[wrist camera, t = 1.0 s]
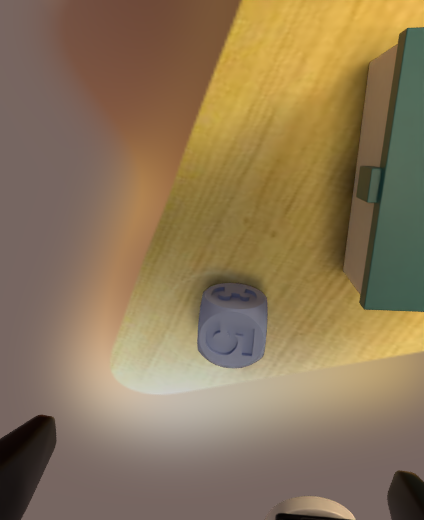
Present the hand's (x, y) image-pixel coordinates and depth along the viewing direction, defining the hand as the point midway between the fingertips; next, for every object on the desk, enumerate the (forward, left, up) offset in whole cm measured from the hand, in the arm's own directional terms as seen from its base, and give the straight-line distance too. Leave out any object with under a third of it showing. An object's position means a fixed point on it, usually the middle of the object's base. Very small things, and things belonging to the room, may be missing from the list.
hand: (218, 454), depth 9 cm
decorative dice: (-3, 0, -15) cm, 15 cm away
